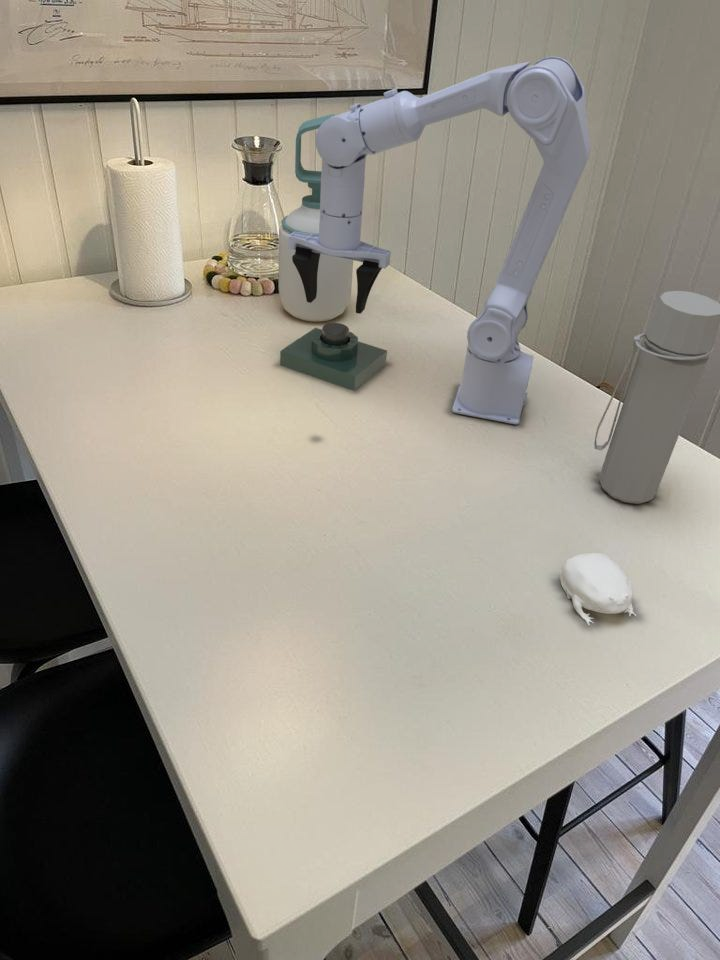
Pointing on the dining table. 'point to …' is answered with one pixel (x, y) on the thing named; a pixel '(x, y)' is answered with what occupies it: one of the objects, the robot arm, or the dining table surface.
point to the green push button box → (334, 359)
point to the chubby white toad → (596, 585)
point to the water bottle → (658, 394)
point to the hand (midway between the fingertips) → (335, 305)
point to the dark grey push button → (335, 334)
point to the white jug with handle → (331, 269)
